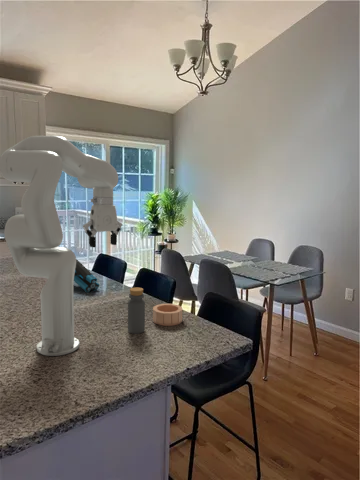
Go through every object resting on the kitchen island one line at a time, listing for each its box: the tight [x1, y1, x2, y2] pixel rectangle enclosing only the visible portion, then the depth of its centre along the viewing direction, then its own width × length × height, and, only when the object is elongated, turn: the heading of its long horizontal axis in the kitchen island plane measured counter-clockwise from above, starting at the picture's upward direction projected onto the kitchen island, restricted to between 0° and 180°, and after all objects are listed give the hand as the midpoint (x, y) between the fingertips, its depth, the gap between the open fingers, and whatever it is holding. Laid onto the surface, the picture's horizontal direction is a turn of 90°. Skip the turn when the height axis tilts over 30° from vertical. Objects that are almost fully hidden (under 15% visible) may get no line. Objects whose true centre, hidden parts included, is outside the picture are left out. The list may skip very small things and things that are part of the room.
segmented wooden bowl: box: [152, 303, 183, 327], centre depth 140 cm, size 11×11×5 cm
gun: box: [74, 258, 100, 293], centre depth 183 cm, size 8×26×15 cm, turn 46°
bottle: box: [127, 287, 146, 335], centre depth 129 cm, size 6×6×15 cm
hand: (103, 245), depth 145 cm, fingers open, 9 cm apart
